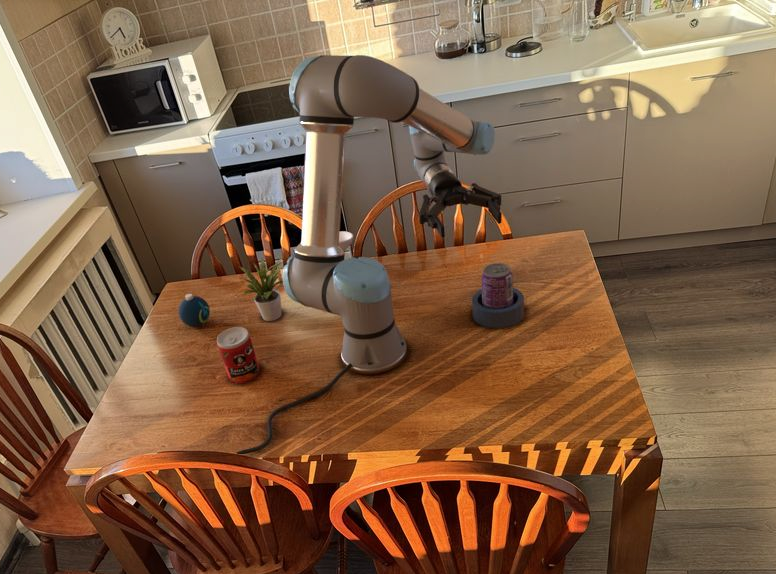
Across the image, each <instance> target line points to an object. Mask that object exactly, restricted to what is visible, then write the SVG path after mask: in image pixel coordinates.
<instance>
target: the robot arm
mask: <svg viewBox="0 0 776 574" xmlns="http://www.w3.org/2000/svg"><path fill="white" fill-rule="evenodd" d="M419 85H420V84H419V82H418V80H416V79H415V78H414V77H413V76H411V75H410V74H408V73H406V72H405V71H403V70H401V69H399V68H397V67H396V66H394V65H392V64H390V63H388V62H386V61H384V60H382V59H379V58H376V57H373V56H371V55H364V54H363V55H362V54H357V55H334V54H333V55H330V54H321V55H316V56H310V57H307V58H305V59H303V60H302V61H301V62H300V63H299V65H297V66H296V68H295V69H294V71H293V73H292V74H291V78H290V81H289V89H288V92H289V93H288V94H289V100H290V103H291V104H292V108H293V109H294V110H295V111H296V112H297V113H298V114H299V125H301V127H302V128H303V129H304V131H305V146H304V147H305V149H304V169H303V170H304V172H303V191H302V192H303V195H302V198H303V199H302V215H301V217H302V218H301V236H300V237H301V239H300V243H299V244H298V245H297V246H295V247H294V250H293V254H292V255H291V256H289V258H288V259H287V261H286V264H285V265H284V266H283V267H284V268H283V270H282V271H283V272H282V281H283V284H282V285H283V288H284V289H283V290H284V291H285V293H286V295H287V296H288V298H290V300H292V301H294V302H296V303H298V304H300V305H302V306H304V307H306V308H307V307H308V308H312V309H315V310H318V311H323V312H325V313H329V314H332V315H335V316H339V317H341V320H342V321H341V322H342V326H343V330H344V331H343V339H342V344H341V345H342V346H341V350H340V356H341V362H342V364H343V366H344V368H343V369H341V370H340V372H338V373H337V374H336V376H334V378H333V379H332V380H331V381H330V382H329V383H328V384H326V385H325V386H324V387H322V388H321V389H319V390H317V391H315V392H312V393H310V394H308V395H305V396H302V397H301V398H298V399H296V400H295V401H292V402H288V403H287V404H283V405H282V406H280V407H278V408H276V409H275V410H273V411H272V412H271V413H270V415H268V418H267V421H266V427H267V438H266V440H265V441H264V442H263V443H261V444H259V445H257V446H254V447H250V448H245V449H241V450H239V451H236V452H235V453H237V454H243V455H247V454H250V453H255V452H259V451H261V450H264V449H265V448H266V447H267V446H268V445H269V444H270V443H271V441H272V439H273V428H272V422H273V419H274V418H275V416H277V414H279V413H281V412H283V411H285V410H288V409H290V408H292V407H295V406H297V405H299V404H302V403H304V402H307V401H309V400H311V399H314V398H316V397H317V396H321V395H322V394H324V393H325V392H328V391H329V390H330V389H331V388H332V387H333V386H334V385H335V384H336V383H337V382H338V381H339V380H340V379H341V378H342V377H343V376H344V375H345V374H346V373H347V372H348V371H351V372H352V373H355V374H359V375H365V376H366V375H367V376H372V375H373V376H374V375H379V374H385V373H387V372H390V371H392V370H394V369H395V368H396V369H397V367H398V366H400V365H401V364H402V363H404V360H405V359H406V357H407V355H408V348H407V342H406V341H405V338H404V337H403V334H402V333H401V331H400V329H399V328H398V326H397V324H396V320H395V313H394V312H395V311H394V305H393V297H392V285H391V281H390V279H389V275H388V274H389V273H388V271H387V269H386V267H385V266H384V265H383V263H381V262H380V261H378V260H376V259H374V258H371V257H365V256H358V257H357V258H356V257H354V256H353V257H349V258H345V256H346V255H345V254H346V252H345V251H346V250H345V251H344V250H343V249H342V248H341V247H340V245H339V231H340V230H341V214H342V200H343V183H344V167H345V154H346V153H345V151H346V140H347V139H346V136H347V133H348V132H349V131H351V129H352V128H353V127H354V124H355V118H374V119H382V120H386V121H388V122H390V123H393V124H399V123H404V124H405V125H407V126H408V129H409V136H410V140H411V144H412V145H411V146H412V148H413V154H414V159H413V167H414V169H415V173H416V174H417V176H418V177H419V178H420V180H421V181H422V182H423V184H424V185H425V187H426V189H427V190H428V192H429V193H430V195H431V196H429V195H428V194H423V195H422V204H421V207H420V211H419V213H418V219H419V225H424V224H426V223H427V226H428V227H430V228H431V229H432V230H435V229H436V231H437V232H438V234H439V236H440V238H445V237H446V235H445V234H446V233H445V226H444V224H443V222H442V221H441V220H440V218H439V215H440V214H441V213H442V211H443V212H444V211H445V209H446V208H447V207H453V206H456V205H465V206H468V205H473V206H478V207H481V208H486V209H487V211H488V212H489V214H490V215H491V217H492V218H493V219H494V220H495V222H496V223H497V224H498V225H499V224H502V212H501V206H502V194H500V193H497V192H494V191H492V190H490V189H487V188H484V187H482V186H480V185H478V184H477V183H476V182H473V183H471V186H470V187H469V186H468V187H465V186H463V184H462V182H461V181H460V179H459V178H458V177H457V176H456V174H455V173H454V172H453V170H452V169H451V167H450V166H449V164H448V163H447V161H446V158H445V153H458V154H467V155H473V156H476V155H478V156H479V155H481V156H484V155H487V154H489V153H490V151H492V149H493V147H494V143H495V139H496V131H495V127H494V125H493V124H492V123H490V122H485V121H483V120H482V121H481V120H480V121H475V120H472V119H471V118H469V117H467V116H466V115H464V114H462V113H461V112H459V111H457V110H456V109H455V108H453V107H451V106H450V105H448V104H447V103H445V102H443V101H442V100H440V99H438V98H436V97H435V96H433V95H432V94H430V93H428V92H427V91H425V90H423V89H422V88H420V86H419ZM433 203H434V205H433V206H432V204H433ZM431 206H432V207H431ZM430 207H431V208H430Z"/></svg>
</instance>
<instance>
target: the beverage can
mask: <svg viewBox="0 0 776 574" xmlns="http://www.w3.org/2000/svg"><path fill="white" fill-rule="evenodd" d="M480 279H481V281H480V282H481V289H482V305H483V307H485V308H488V309H504V308H508V307H510V306H512V305H513V288H514V275H513V272H512V269H511V266H510V265H508V264H507V263H502V262H495V263H490V264H488V265H486V266H485V267H483V269H482V274H481V277H480Z"/></svg>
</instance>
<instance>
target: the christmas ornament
mask: <svg viewBox="0 0 776 574" xmlns="http://www.w3.org/2000/svg"><path fill="white" fill-rule="evenodd" d="M210 315H211V309H210V305H209V304H208V302H207V300H206V299H204V298H203V297H200V296H197V295H193V293H186V294H185V295H184V299H183V300H182V301H181V302H180V304H179V306H178V317H179V319H180V320H181V322H182V323H183V324H184V325H186V326H188V327H191V328H199V327H202V326H203V325H205V324H206V323H207V322H208V321H209V319H210Z"/></svg>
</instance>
